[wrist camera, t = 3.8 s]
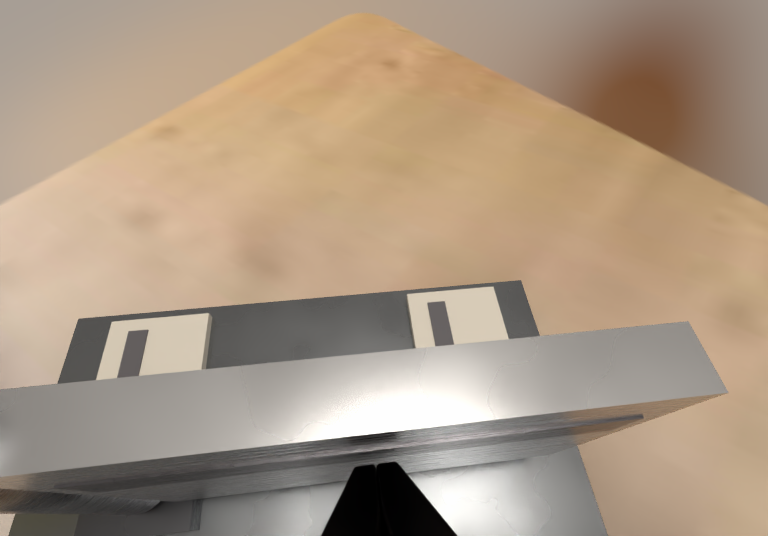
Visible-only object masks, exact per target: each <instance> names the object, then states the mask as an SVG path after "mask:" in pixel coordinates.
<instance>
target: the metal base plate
mask: <svg viewBox="0 0 768 536" xmlns="http://www.w3.org/2000/svg"><path fill="white" fill-rule="evenodd" d="M481 287H494V291H495V294H496V297H497V301H498V304H499V307H500V311H501V314H502V318H503V321H504V324H505V328H506V331H507V334H508V338H509V339H516V338H526V337H536V336H540V335H539V332H538V329H537V326H536V323H535V321H534V318H533V315H532V312H531V309H530V306H529V303H528V300H527V297H526V294H525V291H524V288H523V285H522V282H521V280H519V281H508V282H496V283H485V284H473V285H462V286H450V287H439V288H427V289H416V290H404V291H393V292H381V293H370V294H358V295H347V296H335V297H324V298H313V299H301V300H290V301H278V302H267V303H255V304H244V305H232V306H221V307H209V308H198V309H186V310H175V311H163V312H152V313H140V314H129V315H118V316H106V317H95V318H83V319H78V322H77V325H76V328H75V331H74V334H73V337H72V341H71V344H70V347H69V350H68V353H67V356H66V359H65V362H64V365H63V368H62V371H61V375H60V378H59V381H58V384H62V383H72V382H82V381H92V380H96V378H97V374H98V370H99V367H100V363H101V359H102V356H103V352H104V348H105V345H106V341H107V337H108V334H109V330H110V326H111V323H112V322H114V321H125V320H136V319H148V318H159V317H170V316H182V315H193V314H204V313H209V314H210V315H211V316H212V324H211V332H210V340H209V348H208V356H207V363H206V369H213V368H223V367H233V366H243V365H253V364H263V363H273V362H284V361H294V360H304V359H314V358H324V357H334V356H344V355H354V354H364V353H374V352H384V351H395V350H405V349H414V343H413V337H412V331H411V325H410V318H409V312H408V306H407V300H406V298H407V294H413V293H425V292H436V291H447V290H459V289H470V288H481ZM407 475H408V476H409V477H410V478H411V479H412V481H413V482H414V483H415V484H416V486H417V487H418V488H419V489H420V490H421V492H422V493H423V494H424V495H425V496H426V498H427V499H428V500H429V501H430V503H431V504H432V505H433V506H434V507H435V509H436V510H437V511H438V512H439V514H440V515H441V516H442V517H443V518H444V520H445V521H446V522H447V523H448V525H449V526H450V527H451V528H452V529H453V531H454V532H455V533H456V534H457V536H608V535H607V532H606V529H605V526H604V523H603V520H602V517H601V514H600V511H599V508H598V505H597V502H596V499H595V496H594V494H593V491H592V488H591V485H590V482H589V479H588V476H587V473H586V470H585V467H584V464H583V461H582V458H581V455H580V452H579V450H578V447H577V446H575V447H572V448H569V449H566V450H563V451H560V452H557V453H554V454H552V455H548V456H540V457H532V458H524V459H516V460H508V461H500V462H491V463H483V464H475V465H467V466H459V467H451V468H443V469H435V470H427V471H419V472H411V473H407ZM347 481H348V480H347ZM347 481H339V482H331V483H323V484H314V485H306V486H298V487H290V488H282V489H274V490H266V491H258V492H250V493H242V494H234V495H226V496H218V497H210V498H202V499H194V500H186V501H178V502H169V501H160V502H159V503H158V504H157V505H156V506H155V507H153V508H152V509H150V510H149V511H147V512H145V513H142V514H137V515H97V514H15V517H14V520H13V523H12V526H11V529H10V533H9V536H321V534H322V532H323V530H324V528H325V526H326V524H327V522H328V520H329V518H330V516H331V514H332V512H333V510H334V508H335V506H336V504H337V501H338V499H339V497H340V495H341V493H342V491H343V489H344V487H345V485H346V483H347Z"/></svg>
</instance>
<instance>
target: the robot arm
mask: <svg viewBox="0 0 768 536" xmlns="http://www.w3.org/2000/svg"><path fill="white" fill-rule="evenodd" d="M321 536H457V534H456V533H455V532H454V531H453V529H452V528H451V527H450V526H449V525H448V523H447V522H446V521H445V520H444V518H443V517H442V516H441V515H440V514H439V512H438V511H437V510H436V509H435V507H434V506H433V505H432V504H431V503H430V501H429V500H428V499H427V498H426V496H425V495H424V494H423V493H422V492H421V490H420V489H419V488H418V487H417V486H416V484H415V483H414V482H413V481H412V479H411V478H410V477H409V476H408V475H407V473H406V472H405V471H404V470H403V468H402V467H401V466H400V465H399V464H398V463H397V462H386V463H379V464H378V465H377V466H376V467H375V465H373V464H370V465H361V466H356V467H355V468H354V469H353V471H352V473H351V475H350V477H349V479H348V481H347V483H346V485H345V487H344V489H343V491H342V493H341V495H340V497H339V499H338V501H337V504H336V506H335V508H334V510H333V512H332V514H331V516H330V518H329V520H328V522H327V524H326V526H325V528H324V530H323V532H322V534H321Z"/></svg>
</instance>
